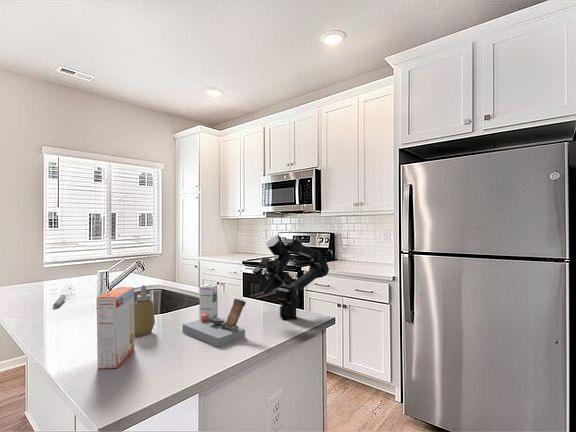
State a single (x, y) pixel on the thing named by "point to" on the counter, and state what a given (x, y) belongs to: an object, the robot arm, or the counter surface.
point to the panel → (213, 332)
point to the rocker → (215, 321)
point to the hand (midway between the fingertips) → (261, 292)
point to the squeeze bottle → (143, 314)
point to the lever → (234, 313)
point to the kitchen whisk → (61, 299)
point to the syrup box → (208, 300)
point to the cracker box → (115, 327)
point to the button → (204, 317)
